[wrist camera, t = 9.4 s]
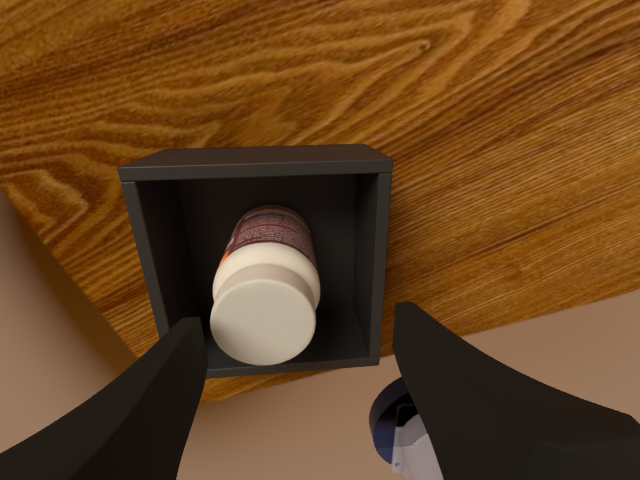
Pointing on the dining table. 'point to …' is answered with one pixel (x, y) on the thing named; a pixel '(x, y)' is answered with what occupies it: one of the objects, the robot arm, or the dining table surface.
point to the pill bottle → (266, 288)
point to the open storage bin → (239, 198)
